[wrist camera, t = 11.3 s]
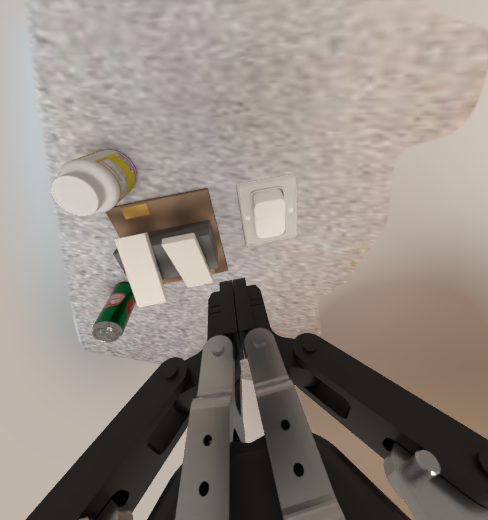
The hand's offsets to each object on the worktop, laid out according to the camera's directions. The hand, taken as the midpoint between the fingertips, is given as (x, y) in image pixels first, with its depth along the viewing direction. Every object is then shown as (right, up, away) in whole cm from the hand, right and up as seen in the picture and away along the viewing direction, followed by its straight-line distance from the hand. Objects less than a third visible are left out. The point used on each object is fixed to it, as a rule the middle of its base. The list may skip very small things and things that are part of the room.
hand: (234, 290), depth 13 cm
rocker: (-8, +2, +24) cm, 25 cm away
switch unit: (-13, +5, +30) cm, 34 cm away
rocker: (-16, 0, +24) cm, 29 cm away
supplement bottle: (-20, +16, +22) cm, 34 cm away
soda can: (-26, -5, +36) cm, 44 cm away
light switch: (+5, +12, +30) cm, 32 cm away
